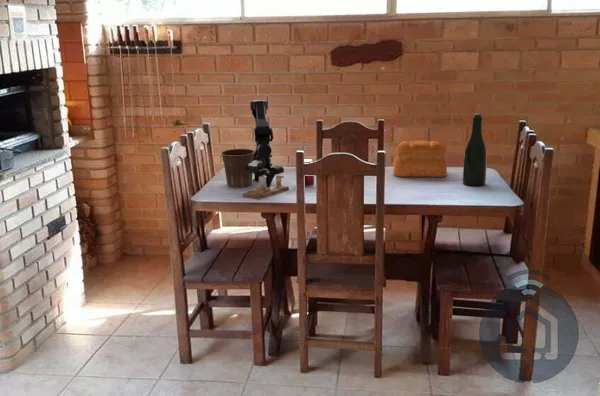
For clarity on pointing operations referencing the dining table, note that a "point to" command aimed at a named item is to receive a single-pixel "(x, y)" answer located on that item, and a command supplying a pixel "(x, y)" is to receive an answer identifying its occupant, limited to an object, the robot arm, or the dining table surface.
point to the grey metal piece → (262, 184)
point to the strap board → (265, 192)
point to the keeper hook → (278, 180)
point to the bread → (420, 159)
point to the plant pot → (238, 166)
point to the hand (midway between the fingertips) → (264, 186)
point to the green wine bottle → (475, 156)
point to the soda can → (309, 179)
